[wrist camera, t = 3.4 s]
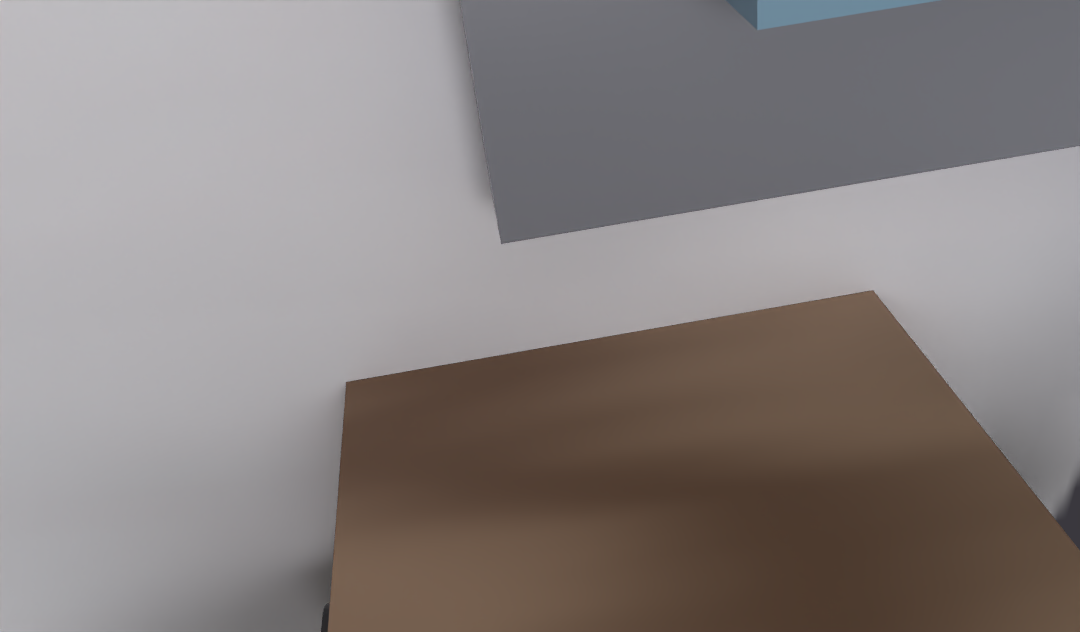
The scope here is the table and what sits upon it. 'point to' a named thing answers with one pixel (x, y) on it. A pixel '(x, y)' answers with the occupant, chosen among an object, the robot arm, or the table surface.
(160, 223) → the table surface
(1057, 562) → the walnut block
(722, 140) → the baseplate
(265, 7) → the table surface
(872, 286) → the table surface
